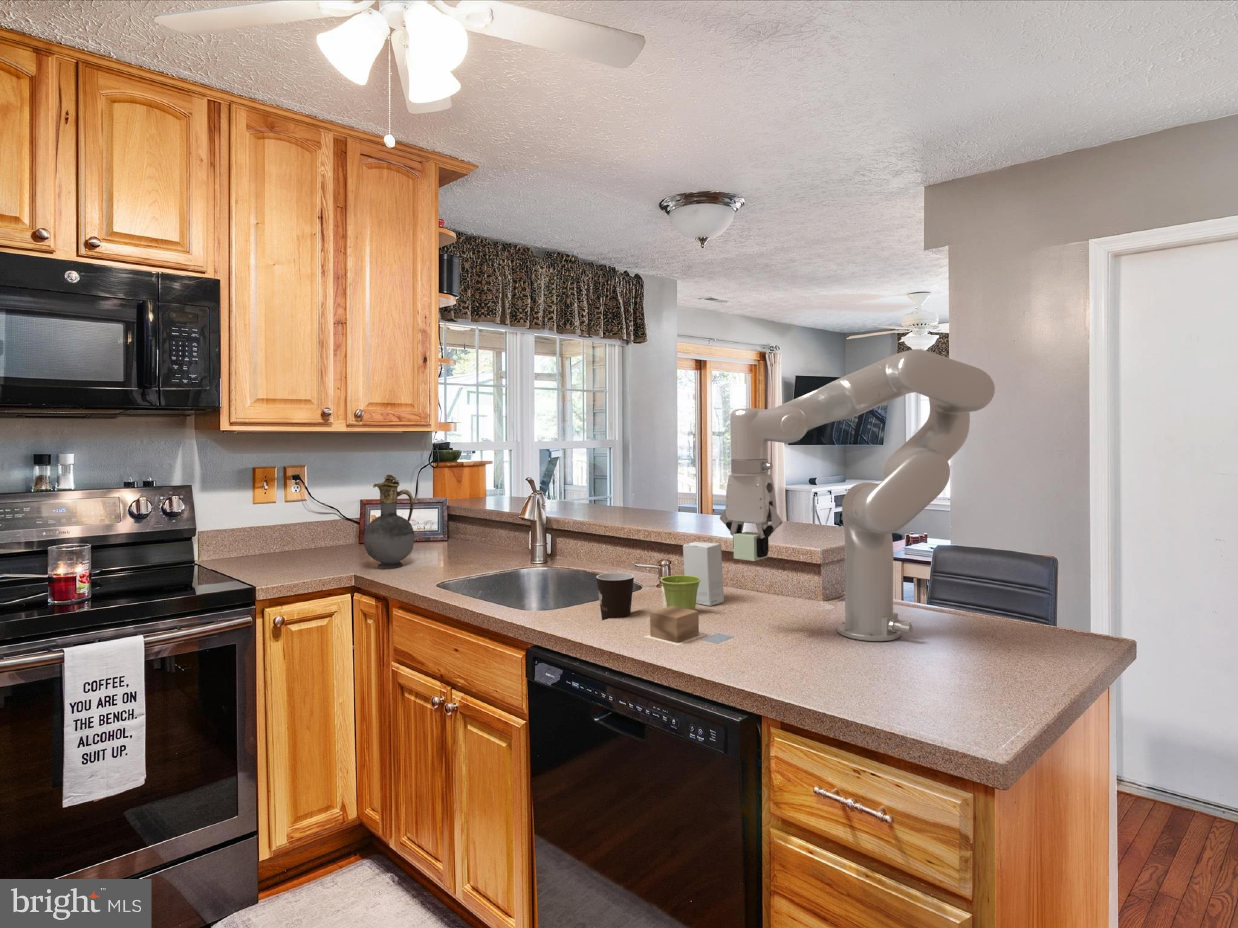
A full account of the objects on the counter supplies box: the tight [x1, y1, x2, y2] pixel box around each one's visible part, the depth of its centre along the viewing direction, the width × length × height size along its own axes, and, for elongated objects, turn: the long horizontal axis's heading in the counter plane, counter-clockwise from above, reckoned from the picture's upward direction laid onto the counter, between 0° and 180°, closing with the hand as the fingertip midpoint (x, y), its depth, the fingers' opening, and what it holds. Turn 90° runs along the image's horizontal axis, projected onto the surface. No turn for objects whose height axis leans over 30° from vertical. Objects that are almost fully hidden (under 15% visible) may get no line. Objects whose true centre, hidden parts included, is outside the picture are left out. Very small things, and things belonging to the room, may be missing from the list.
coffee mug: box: [595, 572, 635, 621], centre depth 168 cm, size 12×9×10 cm
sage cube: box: [732, 531, 769, 562], centre depth 151 cm, size 5×5×5 cm
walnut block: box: [649, 606, 700, 643], centre depth 148 cm, size 7×7×5 cm
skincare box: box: [682, 541, 725, 607], centre depth 182 cm, size 8×6×15 cm
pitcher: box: [363, 474, 415, 570], centre depth 237 cm, size 11×19×30 cm, turn 153°
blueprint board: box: [643, 632, 735, 646], centre depth 148 cm, size 20×16×1 cm
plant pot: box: [660, 574, 701, 611], centre depth 169 cm, size 9×9×9 cm
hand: (750, 554), depth 152 cm, fingers closed on sage cube, 5 cm apart
